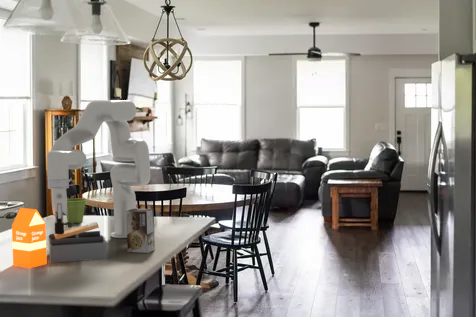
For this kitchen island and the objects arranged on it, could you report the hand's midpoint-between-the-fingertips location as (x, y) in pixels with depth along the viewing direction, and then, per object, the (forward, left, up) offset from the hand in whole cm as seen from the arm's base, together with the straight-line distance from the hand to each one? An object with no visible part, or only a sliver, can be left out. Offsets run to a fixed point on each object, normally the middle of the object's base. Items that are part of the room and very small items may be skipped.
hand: (59, 233), depth 243 cm
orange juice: (+11, +8, -9) cm, 16 cm away
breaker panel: (-6, 0, -9) cm, 11 cm away
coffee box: (-30, -1, -9) cm, 32 cm away
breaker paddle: (-6, 0, 0) cm, 6 cm away
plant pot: (-11, -83, -9) cm, 84 cm away
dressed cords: (-6, 0, -3) cm, 7 cm away
